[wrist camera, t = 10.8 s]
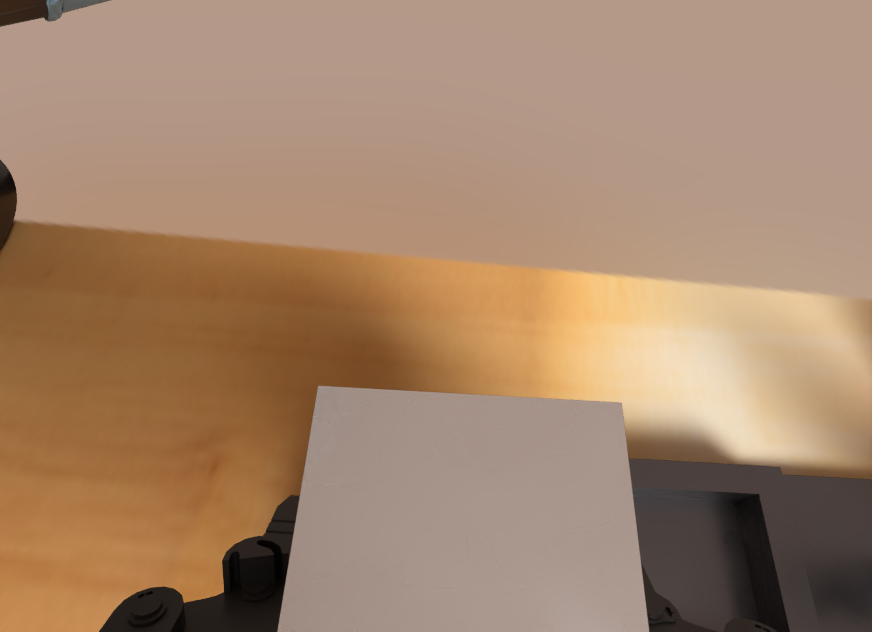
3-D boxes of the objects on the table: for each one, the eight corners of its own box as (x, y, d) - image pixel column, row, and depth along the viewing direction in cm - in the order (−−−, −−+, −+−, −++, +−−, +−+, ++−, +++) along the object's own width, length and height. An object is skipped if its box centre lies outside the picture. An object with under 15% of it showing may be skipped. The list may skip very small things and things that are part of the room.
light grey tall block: (362, 672, 19) (253, 774, 7) (377, 519, 21) (318, 385, 9) (507, 681, 19) (669, 798, 7) (506, 526, 21) (621, 403, 9)
